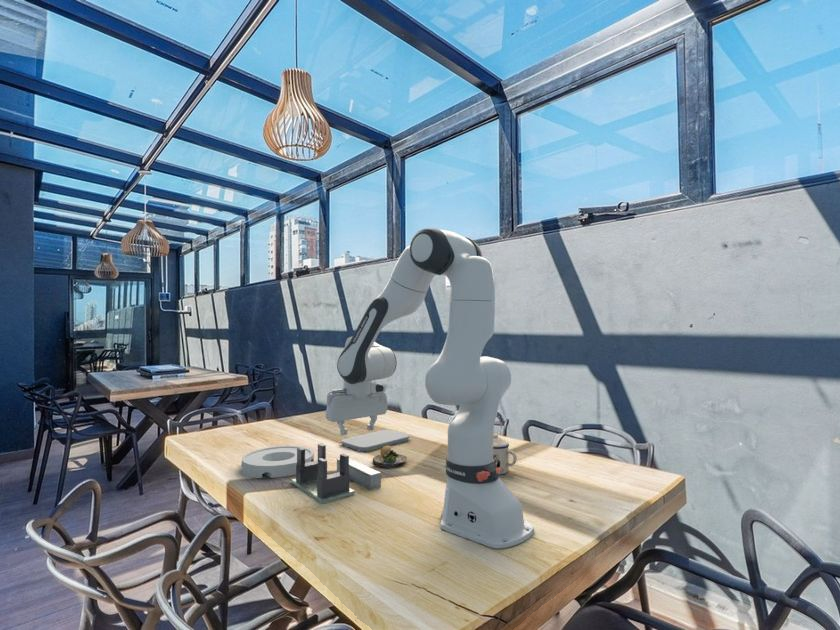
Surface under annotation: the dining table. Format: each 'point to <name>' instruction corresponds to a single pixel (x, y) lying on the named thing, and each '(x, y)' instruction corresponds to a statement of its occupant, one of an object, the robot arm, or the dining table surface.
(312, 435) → the dining table surface
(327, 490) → the bracket stand
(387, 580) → the dining table surface
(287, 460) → the ashtray
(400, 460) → the burger
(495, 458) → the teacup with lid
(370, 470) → the rail
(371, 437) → the tablet
